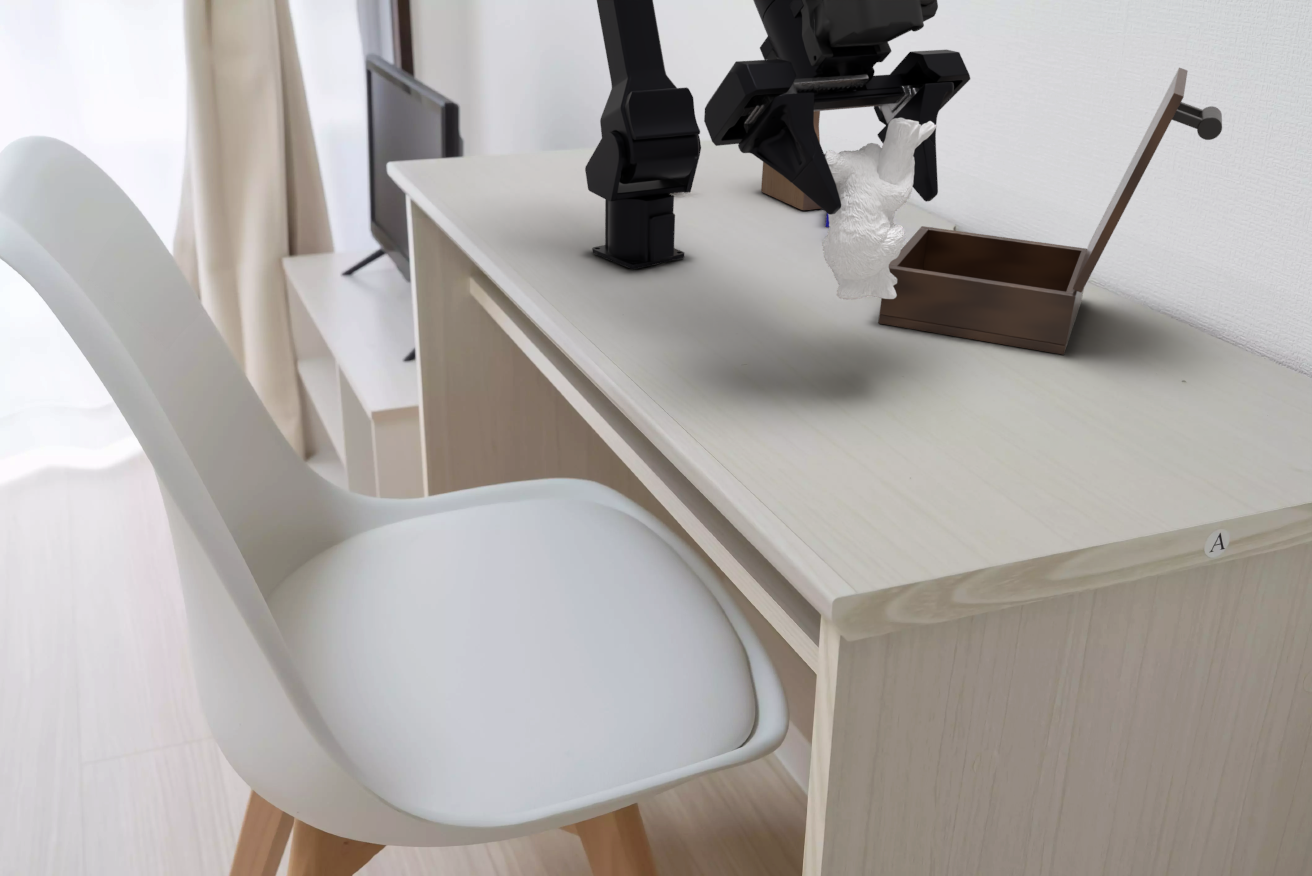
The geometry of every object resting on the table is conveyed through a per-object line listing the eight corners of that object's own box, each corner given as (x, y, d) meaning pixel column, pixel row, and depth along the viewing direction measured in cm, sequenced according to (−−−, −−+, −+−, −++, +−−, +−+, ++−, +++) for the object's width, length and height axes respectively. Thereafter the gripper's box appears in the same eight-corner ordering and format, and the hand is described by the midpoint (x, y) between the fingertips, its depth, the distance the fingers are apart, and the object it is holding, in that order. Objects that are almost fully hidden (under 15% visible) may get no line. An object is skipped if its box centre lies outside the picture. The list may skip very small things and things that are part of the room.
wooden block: (836, 208, 124) (853, 36, 116) (802, 211, 122) (816, 38, 114) (792, 189, 131) (805, 26, 123) (759, 192, 129) (770, 27, 121)
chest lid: (1173, 92, 76) (1236, 115, 75) (1179, 67, 88) (1233, 87, 87) (1072, 289, 84) (1127, 312, 83) (1089, 243, 96) (1138, 262, 95)
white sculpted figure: (891, 273, 83) (915, 107, 77) (939, 305, 77) (968, 128, 71) (786, 281, 80) (803, 109, 75) (827, 314, 74) (849, 132, 69)
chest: (878, 323, 92) (885, 267, 90) (914, 277, 103) (921, 225, 101) (1063, 355, 87) (1075, 296, 85) (1081, 302, 98) (1092, 249, 96)
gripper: (738, -79, 67) (833, 147, 63) (973, -77, 75) (1068, 123, 71) (668, 42, 76) (746, 244, 73) (882, 32, 85) (962, 213, 81)
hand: (884, 204), depth 74 cm, fingers closed on white sculpted figure, 8 cm apart
